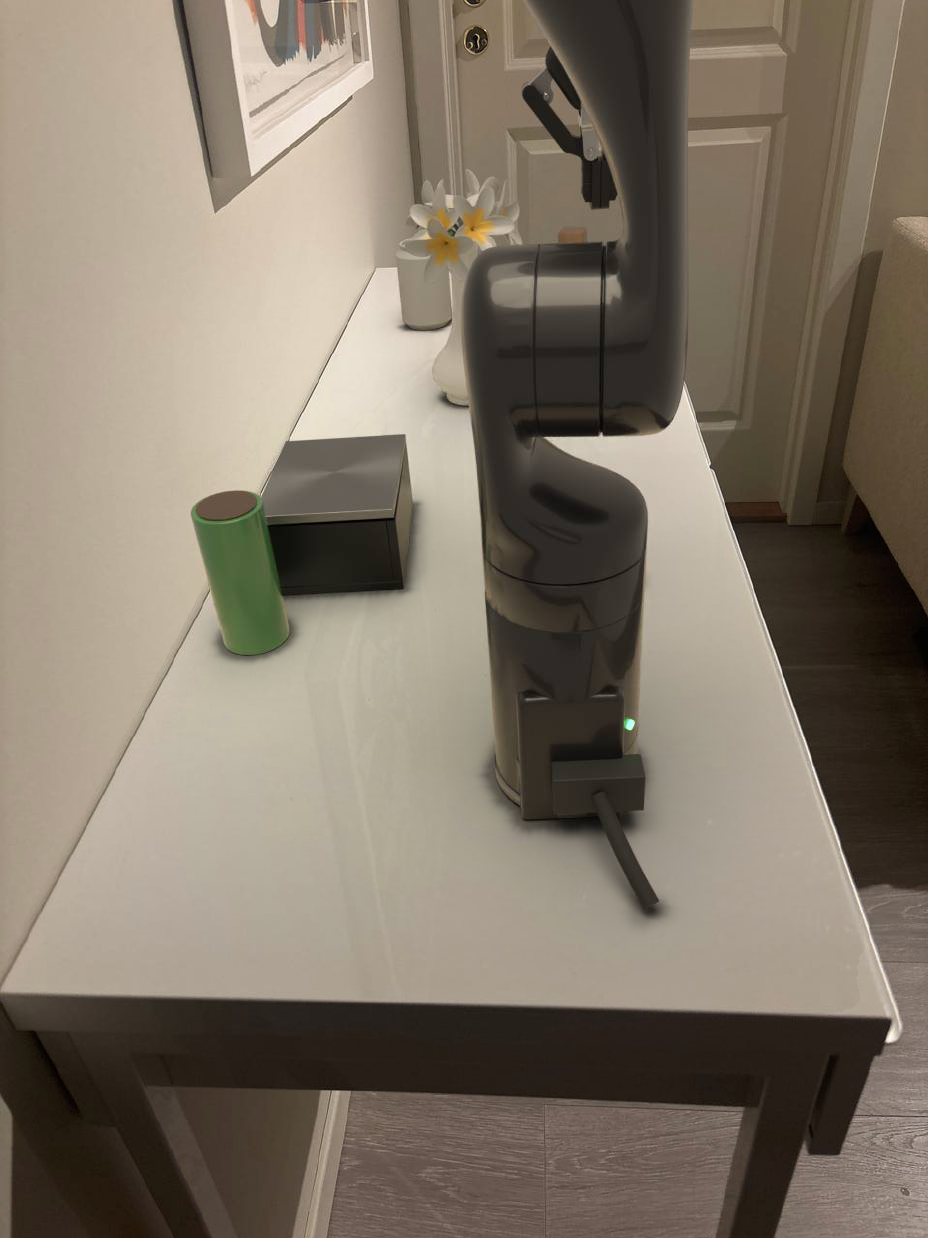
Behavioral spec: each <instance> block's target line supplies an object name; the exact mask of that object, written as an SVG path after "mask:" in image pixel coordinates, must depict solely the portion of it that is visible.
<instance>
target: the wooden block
mask: <svg viewBox="0 0 928 1238" xmlns="http://www.w3.org/2000/svg"><path fill="white" fill-rule="evenodd" d="M576 242H588V228H587V227H586V226H564V227H562V228H561V229H560V230H559V231H558V233H557V243H576Z"/></svg>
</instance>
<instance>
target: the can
mask: <svg viewBox="0 0 928 1238" xmlns="http://www.w3.org/2000/svg"><path fill="white" fill-rule="evenodd" d="M412 238H413V237H410V238H407V239H403V240H402V241H400V242H399V244H398V246H399V247H400V248H399V249H398V250H397V252H396V253H395V260H396V261H395V263H396V271H397V281H398V291H399V299H400V311H401V319H402V322H403V323H404V324H405V325H407V326H408V327H409V328H410V329H412V330H417V331H429V330H430V331H431V330H436V329H440V328H442V327H445V326H446V325H447V324H448V322H450V320H452V318H453V305H452V292H451V281H450V279H451V278H450V272H449V270H448V267H447V264H446V267H445V270H444V272H443V274H442V276H441V277H440V279H439V280H438V281H437V282H436V283H434V284H431V285H429V284H427V283H425V281H424V277H423V272H424V268H425V265H426V263H427V261H428V259H429V257H430V256H431V255H432V254H431V255H429V256H427V257H417V256H414V255H412V254H410V253H408V252H407V251H406V249H405V244H406V243H407V242H409V241H411V239H412Z"/></svg>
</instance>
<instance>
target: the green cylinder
mask: <svg viewBox="0 0 928 1238" xmlns="http://www.w3.org/2000/svg"><path fill="white" fill-rule="evenodd" d="M190 517H191V521H192V525H193V529H194V533H195V536H196V541H197V545H198V548H199V549H198V550H199V552H200V556H201V560H202V564H203V568H204V572H205V575H206V579H207V583H208V586H209V591H210V593H211V599H212V602H213V606H214V610H215V614H216V618H217V622H218V626H219V630H220V633H221V637H222V641H223V644H224V646H225V648H226V649H227V650H228V651H230V652H231V653H234V654H237V655H240V656H257V655H261V654H262V655H263V654H265V653H268V652H270V651H273V650H275V649H277V648H278V647H280V646H282V644H284V643H285V642H286V641H287V639H288V638H289V635H290V631H291V630H290V629H291V628H290V624H289V620H288V615H287V610H286V605H285V600H284V595H282V590H281V585H280V581H279V576H278V571H277V566H276V562H275V557H274V552H273V547H272V542H271V538H270V533H269V528H268V523H267V518H266V514H265V509H264V504H263V500H262V498H261V496H260V495H259V494H258V493H255V492H253V491H250V490H242V489H241V490H239V489H237V490H226V491H221V492H217V493H213V494H211V495H208V496H206V497H204V498H202V499H200V500H199V501H197V502H196V503H195V504H194V505H193V506H192V508H191V509H190Z"/></svg>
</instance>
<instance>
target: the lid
mask: <svg viewBox="0 0 928 1238" xmlns="http://www.w3.org/2000/svg"><path fill="white" fill-rule="evenodd" d="M406 435H407V434H406V433H404V434H403V433H401V434H399V433H398V434H383V435H368V436H367V435H366V436H365V435H364V436H348V437H334V438H332V437H331V438H318V439H317V438H316V439H302V440H301V439H299V440H285V443H284V445H283V447H282V448H281V451H280V453H279V456H278V458H277V460H276V463H275V464H274V467H273V469H272V471H271V473H270V476H269V478H268V480H267V483H266V485H265V488H264V489H263V492H262V493H261V496H260V497H261V498H262V500H263V504H264V509H265V514H266V518H267V523H268V525H272V524H290V523H308V522H325V521H343V520H361V519H379V518H394V513H395V507H396V500H397V494H398V488H399V482H400V476H401V470H402V464H403V458H404V451H405V445H406V444H407V436H406Z"/></svg>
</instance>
